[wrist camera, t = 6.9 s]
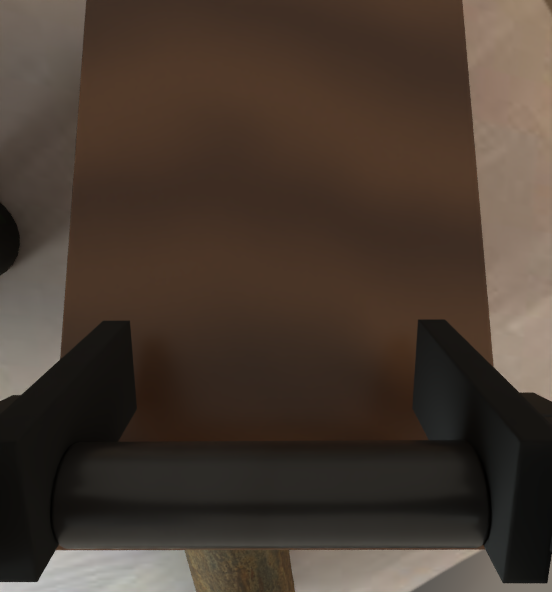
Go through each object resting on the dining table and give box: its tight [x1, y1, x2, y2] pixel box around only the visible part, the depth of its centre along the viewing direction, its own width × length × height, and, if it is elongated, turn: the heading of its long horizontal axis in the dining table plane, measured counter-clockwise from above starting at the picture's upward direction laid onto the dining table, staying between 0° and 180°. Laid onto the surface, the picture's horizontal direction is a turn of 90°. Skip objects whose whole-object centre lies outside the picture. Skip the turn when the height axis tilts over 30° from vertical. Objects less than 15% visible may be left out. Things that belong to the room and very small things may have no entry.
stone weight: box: [185, 550, 295, 592], centre depth 35 cm, size 15×7×7 cm, turn 13°
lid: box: [51, 0, 493, 550], centre depth 15 cm, size 21×14×7 cm, turn 1°
